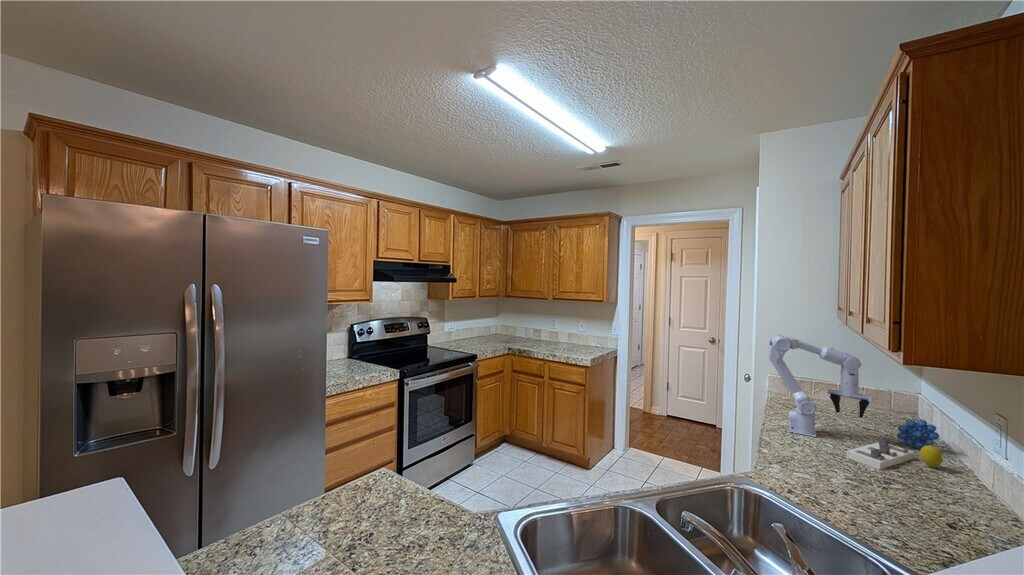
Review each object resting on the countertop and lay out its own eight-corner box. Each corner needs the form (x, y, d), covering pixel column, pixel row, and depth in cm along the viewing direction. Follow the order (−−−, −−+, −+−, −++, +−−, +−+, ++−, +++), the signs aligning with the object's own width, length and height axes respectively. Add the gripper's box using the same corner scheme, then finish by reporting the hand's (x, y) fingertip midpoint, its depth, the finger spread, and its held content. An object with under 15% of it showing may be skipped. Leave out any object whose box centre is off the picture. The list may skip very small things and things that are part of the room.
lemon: (947, 471, 133) (947, 448, 133) (931, 470, 133) (931, 448, 133) (930, 463, 138) (930, 442, 138) (915, 463, 138) (915, 441, 138)
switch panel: (879, 469, 134) (880, 459, 134) (846, 457, 143) (846, 448, 143) (914, 458, 142) (914, 449, 142) (880, 447, 151) (880, 438, 151)
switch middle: (886, 453, 140) (886, 446, 140) (879, 451, 142) (879, 444, 142) (889, 452, 141) (889, 445, 141) (883, 450, 143) (883, 443, 143)
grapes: (936, 449, 150) (936, 419, 150) (940, 455, 145) (940, 424, 145) (895, 441, 158) (895, 412, 158) (897, 446, 153) (898, 417, 152)
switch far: (885, 446, 146) (885, 439, 146) (878, 444, 148) (878, 437, 148) (888, 445, 147) (888, 438, 147) (882, 443, 149) (882, 436, 149)
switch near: (877, 458, 136) (877, 451, 136) (870, 456, 138) (870, 449, 138) (881, 457, 137) (881, 450, 137) (874, 455, 139) (874, 447, 139)
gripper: (824, 380, 164) (824, 411, 164) (869, 388, 152) (869, 421, 152) (830, 378, 168) (830, 408, 168) (874, 385, 156) (874, 418, 156)
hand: (849, 414), depth 160 cm, fingers open, 7 cm apart
